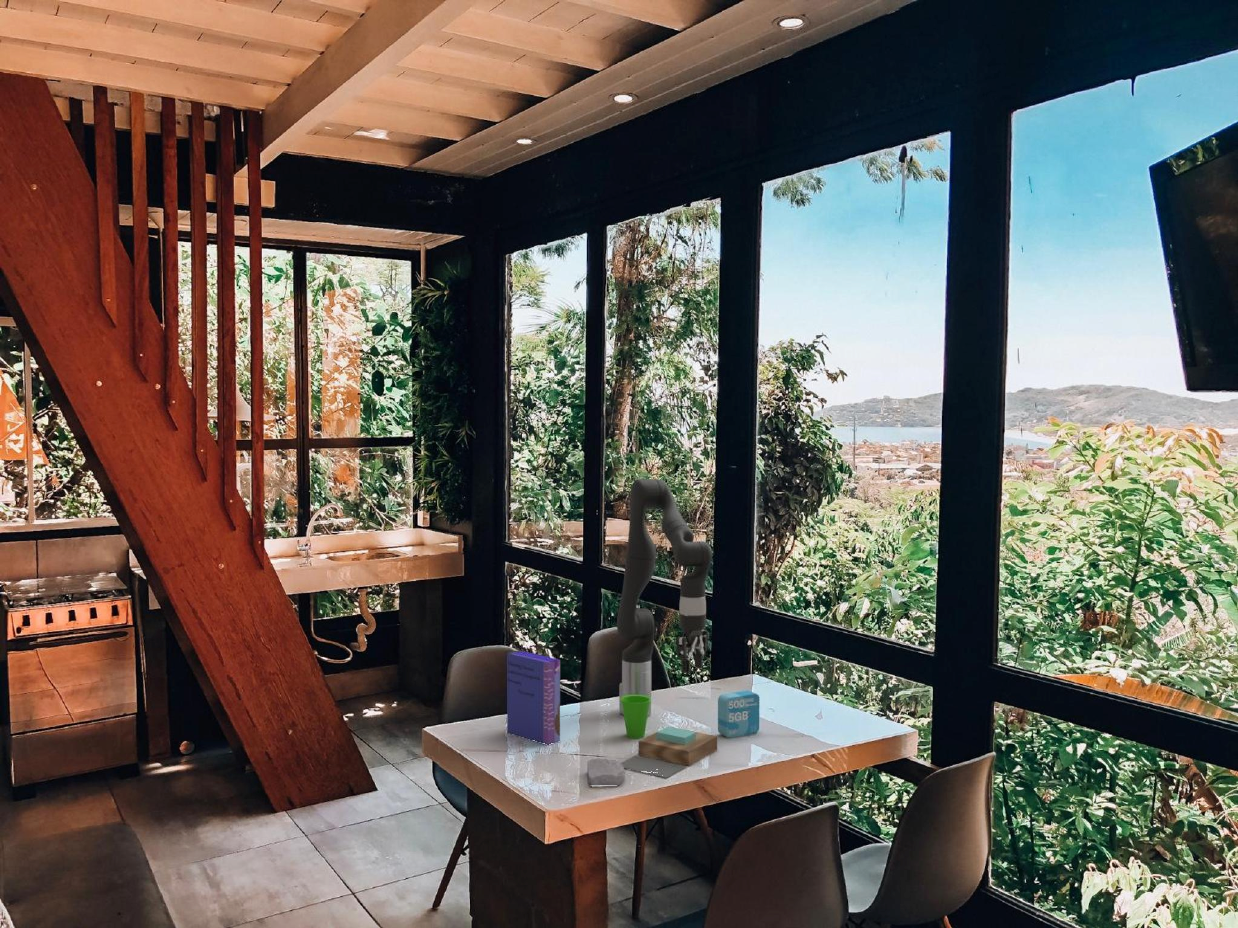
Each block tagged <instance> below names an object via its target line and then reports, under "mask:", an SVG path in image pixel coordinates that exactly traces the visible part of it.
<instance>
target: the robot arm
mask: <svg viewBox="0 0 1238 928" xmlns="http://www.w3.org/2000/svg"><path fill="white" fill-rule="evenodd" d="M676 503H677V502H676V501H675V499H674V496H673V494H672V492H671V489H670V487H669V486H668V484H667V483H666V482H665V481H664V480H662V479H659V478H638V479H634V480H633V482H632V485H631V488H630V495H629V529H628V538H627V539H628V540H627V546H626V553H625V563H624V576H623V577H624V578H623V583H622V584H623V586H622V590H621V591H622V592H621V598H620V603H619V606H618V612H617V618H616V619H617V620H616V628H617V629H616V630H617V633H618V634H617V635H618V636H619V637H620V639H622V640H625V641H627V640H629V641H630V640H634V641H632V643H631V644H630V645H629V646H628V647H627V648H624V650H622V654H621V655H622V656H621V657H622V658H621V660H622V661H621V663H622V664H621V665H622V666H621V679H622V680H621V682H620V683H619V684H618V685H619V687H618V688H619V691H618V692H619V695H618V696H619V697H618V698H619V700H618V701H619V703H618V704H619V705H618V706H619V707H618V708H619V710H618V713H619V714H622V715H623V716H624V713H623V706H622V701H621V700H620V699H621V697H623V696H627V695H644V696H648V697H650V698H651V699H652V655H653V652H654V643H655V642H654V640H655V619H654V615H653V613H652V612H651V610H649V608H637V607H638V602H639V599H640V597H641V594H642V592H643V591H644V589H645V588H646V586H647V585H648V584H649V582H650V581H651V578H652V577H653V575H654V573H655V567H656V559H657V558H656V557H657V550H656V546H655V544H654V542H653V540H652V537H651V535H650V534H649V532H648V530H647V527H646V524H645V510H657V509H659V510H660V511H662V512H663V517H662V520H661V529H662V531H663V534H664V536H665V537H666V538H667V540H668V542H669V543H670V545H671V548H672V552H673V557H674V561H675V563H676V564H678V565H679V567H683V568H692V567H694V568H693V570H692V572H690V573H688V574H684V575H683V576H682V577H681V578H680V594H679V595H680V596H679V597H680V598H679V616H678V617H679V621H678V623H679V626H678V627H679V629H681V630H682V631H683V633H682V636H681V637H680V636H677V637H676V654H677V655H676V657H677V659H681V672H682V673H684V674H689V673H690V672H691V655H692V653H693V652H694V667H695V668H698V669H702V668H703V657H704V653H705V652H707V651H708V639H709V638H708V636H709V632H708V630H706V627H707V600H706V580H707V576H708V573H709V569H710V565H711V564H712V563H711V562H712V559H713V557H712V556H713V552H712V548H711V546H710V544H709V543H707V542H706V541H694V538H695V537H694V533H693V531H692V529H691V528H690V527H689V525H688V524H687V522H686V521H685V520H684V518H683V517H682V515H681V513H680V510H679V508H678V506H677V504H676ZM650 715H652V700H651V701H650V704H649V710H648V716H650Z"/></svg>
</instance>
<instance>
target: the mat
mask: <svg viewBox="0 0 1238 928" xmlns="http://www.w3.org/2000/svg"><path fill="white" fill-rule="evenodd" d="M620 763H621V764H622V765H623V767H624V768H626V769H625V770H627V769H631V770H634V771H633V772H635V771H639V772H638V773H640V772H641V771H647V772H651V771H652V772H651V773H648V774H652V775H657V776H659V777H658V778H661V777H664V778H663V779H665V778H667V777H669V778H670V777H672V776H674V775H675V773H676V774H678V773H679V772H681V771H683V770H685V769H686V768H687V766H685V765H681V764H676V763H672V762H667V761H663V760H658V759H654V758H649V757H645V756H640V755H634V756H632V757H630V758H627V759H625V760H624V761H622V762H620ZM684 768H685V769H684ZM656 769H658V770H656ZM682 769H683V770H682ZM631 770H630V771H631ZM653 772H658V773H653ZM677 772H678V773H677ZM648 774H647V775H648ZM673 774H674V775H673ZM652 775H651V776H652ZM662 775H663V776H662ZM671 775H672V776H671ZM657 776H656V777H657ZM667 779H668V778H667Z"/></svg>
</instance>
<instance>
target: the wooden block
mask: <svg viewBox="0 0 1238 928" xmlns="http://www.w3.org/2000/svg"><path fill="white" fill-rule="evenodd" d="M667 727H670V726H666V727H665V728H667ZM671 727H672V728H675V727H673V726H671ZM665 728H663V729H665ZM676 728H677V727H676ZM677 729H680V728H677ZM681 729H682V730H685V729H684V728H681ZM686 730H687V729H686ZM687 731H690V730H687ZM691 731H692V732H696V740H694V741H692V742H690V743H688V744H686V745H682V744H677V743H672V742H668V741H663V740H658V739H657V732H658V731H656V732H654V733H652V734H650V735H648V736H646V737H645V736H644V737H642V739H641V738H640V739H639V740H638V742H637V743H638V746H637V747H638V753H637V754H638V755H637V756H640V757H645V756H646V757H645V758H649V757H651V758H650V759H654V760H658V759H660V760H659V761H663V760H665V761H664V762H667V761H668V762H667V763H672V762H673V763H672V764H676V763H679V764H678V765H680V766H685V767H690V766H692V765H694V764H695V763H697V762H699V761H701V760H702V759H705V758H706V757H708V756H710V755H711V754H713V753H715V752H717V751H718V736H717V735H714V734H710V733H704V732H698V731H695V730H694V731H693V730H691ZM693 763H694V764H693Z"/></svg>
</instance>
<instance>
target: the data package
mask: <svg viewBox="0 0 1238 928" xmlns="http://www.w3.org/2000/svg"><path fill="white" fill-rule="evenodd" d="M717 731H718V734H720V735H722V736H724V737H726V738H727V739H731V738H738V737H743V736H750V735H755V734H757V733H758V732H759V731H760V695H759V694H758V693H756V692H754V691H751V690H741V691H733V692H727V693H722V694H720V695H719V696H718V698H717Z"/></svg>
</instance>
